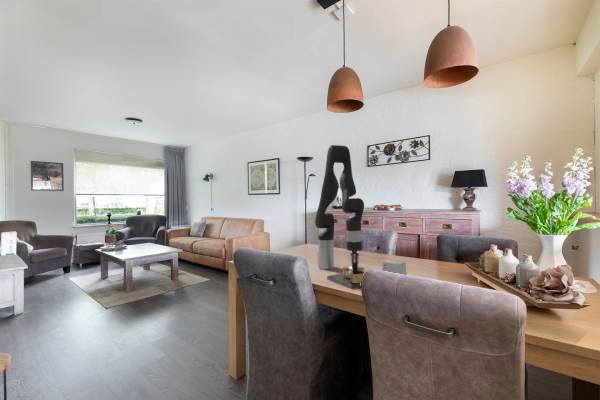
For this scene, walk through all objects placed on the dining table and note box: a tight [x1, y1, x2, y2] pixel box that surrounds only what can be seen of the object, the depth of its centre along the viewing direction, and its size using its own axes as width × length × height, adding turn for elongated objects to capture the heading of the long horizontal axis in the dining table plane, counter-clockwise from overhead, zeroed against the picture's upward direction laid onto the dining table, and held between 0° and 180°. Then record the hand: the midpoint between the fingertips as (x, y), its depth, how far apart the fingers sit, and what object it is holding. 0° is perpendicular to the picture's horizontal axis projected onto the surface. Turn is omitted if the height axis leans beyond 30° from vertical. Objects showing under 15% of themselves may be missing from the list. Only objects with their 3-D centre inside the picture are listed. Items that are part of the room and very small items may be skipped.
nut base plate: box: [326, 265, 361, 290], centre depth 132 cm, size 18×17×6 cm
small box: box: [382, 259, 407, 276], centre depth 116 cm, size 8×6×13 cm
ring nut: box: [342, 264, 366, 283], centre depth 130 cm, size 18×10×4 cm, turn 0°
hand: (355, 276), depth 125 cm, fingers closed
